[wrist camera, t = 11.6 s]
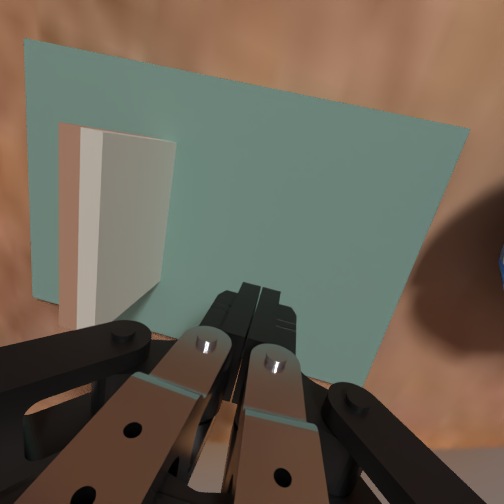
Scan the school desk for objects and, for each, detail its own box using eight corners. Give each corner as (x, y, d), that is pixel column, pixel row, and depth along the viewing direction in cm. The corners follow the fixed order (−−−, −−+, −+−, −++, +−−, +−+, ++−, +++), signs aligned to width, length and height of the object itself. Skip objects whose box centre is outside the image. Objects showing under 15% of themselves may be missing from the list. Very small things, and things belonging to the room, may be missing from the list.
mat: (463, 130, 14) (470, 129, 13) (358, 384, 18) (360, 391, 18) (33, 42, 16) (23, 38, 15) (40, 293, 20) (32, 297, 20)
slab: (176, 142, 15) (103, 131, 10) (160, 280, 18) (94, 336, 12) (147, 136, 15) (58, 121, 10) (135, 274, 18) (59, 326, 12)
